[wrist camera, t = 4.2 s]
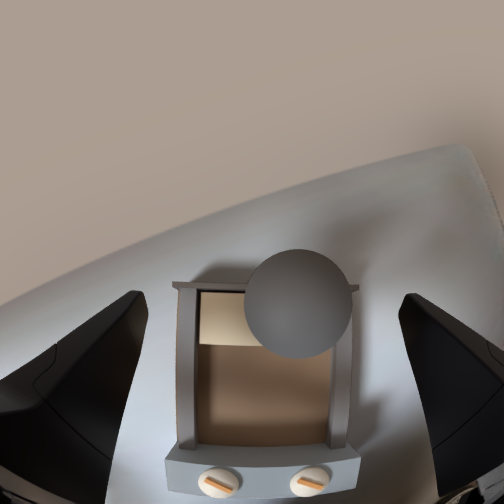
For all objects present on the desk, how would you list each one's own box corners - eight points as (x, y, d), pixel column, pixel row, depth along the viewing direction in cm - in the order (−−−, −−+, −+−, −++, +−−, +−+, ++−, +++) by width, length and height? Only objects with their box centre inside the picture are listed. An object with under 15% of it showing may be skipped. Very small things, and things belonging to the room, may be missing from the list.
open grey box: (337, 463, 14) (348, 477, 12) (182, 464, 14) (173, 479, 12) (345, 290, 18) (358, 284, 15) (182, 288, 18) (172, 281, 15)
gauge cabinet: (337, 463, 14) (358, 491, 10) (182, 464, 14) (166, 494, 10) (340, 435, 15) (364, 460, 11) (180, 435, 15) (162, 462, 11)
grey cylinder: (326, 343, 16) (448, 357, 5) (202, 342, 16) (114, 364, 5) (326, 296, 17) (440, 237, 6) (204, 294, 17) (125, 228, 6)
